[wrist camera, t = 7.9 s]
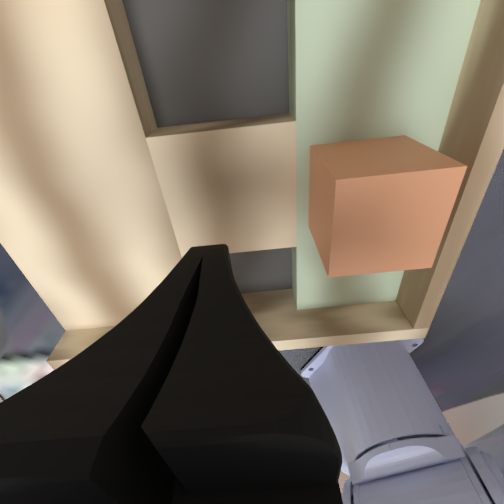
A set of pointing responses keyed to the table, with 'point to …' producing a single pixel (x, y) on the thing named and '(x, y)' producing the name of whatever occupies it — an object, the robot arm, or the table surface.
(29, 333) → the table surface
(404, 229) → the block
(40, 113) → the trap box
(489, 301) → the table surface
